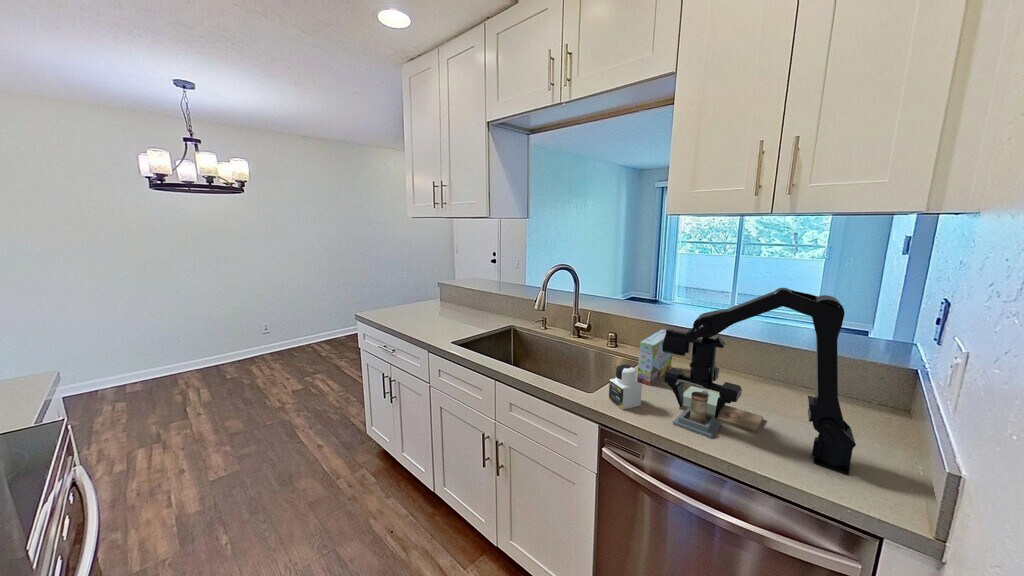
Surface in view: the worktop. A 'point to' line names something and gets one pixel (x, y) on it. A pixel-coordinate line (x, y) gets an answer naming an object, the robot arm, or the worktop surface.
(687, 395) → the cover
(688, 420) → the blue-grey square tray
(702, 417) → the peg
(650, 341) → the snack box
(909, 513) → the worktop surface
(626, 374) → the medicine bottle
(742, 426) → the board
